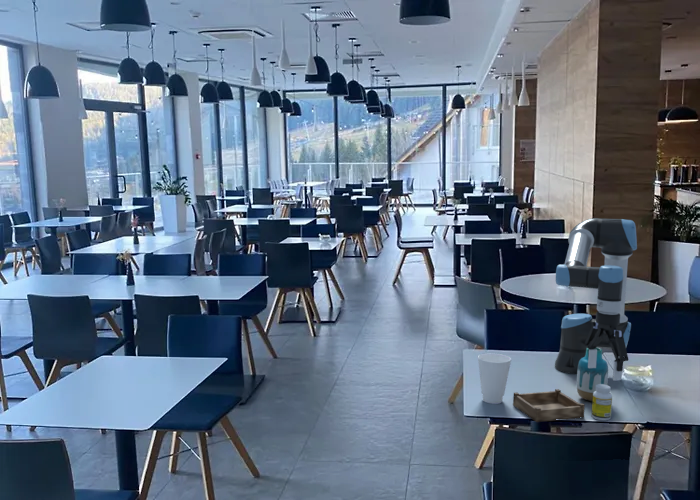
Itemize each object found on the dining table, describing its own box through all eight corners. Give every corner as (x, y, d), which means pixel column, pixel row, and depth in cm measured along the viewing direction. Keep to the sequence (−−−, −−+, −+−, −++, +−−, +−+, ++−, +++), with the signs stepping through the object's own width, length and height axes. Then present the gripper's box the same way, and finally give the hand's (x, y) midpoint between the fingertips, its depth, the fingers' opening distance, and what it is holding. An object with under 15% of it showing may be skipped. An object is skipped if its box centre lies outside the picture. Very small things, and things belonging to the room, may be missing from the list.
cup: (502, 408, 233) (504, 364, 231) (470, 401, 240) (472, 358, 238) (513, 398, 243) (515, 356, 241) (482, 392, 250) (484, 351, 248)
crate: (557, 401, 242) (558, 389, 241) (583, 417, 226) (584, 404, 226) (513, 405, 237) (513, 392, 236) (536, 422, 222) (537, 408, 221)
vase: (570, 394, 249) (574, 345, 246) (598, 394, 250) (601, 344, 247) (583, 405, 238) (586, 353, 236) (611, 404, 239) (615, 353, 237)
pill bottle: (594, 412, 231) (596, 382, 230) (612, 416, 228) (615, 385, 226) (589, 418, 226) (591, 386, 225) (608, 422, 223) (610, 390, 221)
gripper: (576, 304, 233) (572, 363, 236) (622, 321, 209) (618, 386, 212) (595, 304, 235) (591, 362, 238) (643, 320, 211) (638, 384, 214)
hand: (604, 373), depth 225 cm, fingers open, 13 cm apart
